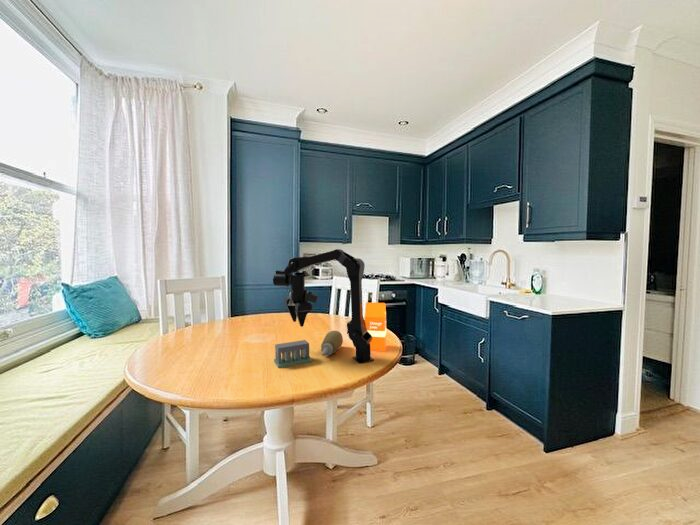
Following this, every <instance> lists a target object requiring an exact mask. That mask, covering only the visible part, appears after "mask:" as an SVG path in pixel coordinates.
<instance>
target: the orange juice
mask: <svg viewBox="0 0 700 525" xmlns="http://www.w3.org/2000/svg"><path fill="white" fill-rule="evenodd" d="M386 308H387V307H386V303H385V302H365V308H364V309H365V310H364V316H363V318H364V320H365V323H366V328H367V331H368V332H369V333H370V334H371V336H372V337H373V338H372V340H371V342H370V351H377V352H378V351H379V352H385V351H386V347H387V310H386Z"/></svg>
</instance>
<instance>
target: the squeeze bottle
mask: <svg viewBox="0 0 700 525" xmlns="http://www.w3.org/2000/svg"><path fill="white" fill-rule="evenodd" d="M343 340H344V338H343V335H342V332H340V331H338V330H331V331H329V332H327V333H326V335H325V336H324V339H323V341H322V343H321V345H320V351H321V353H322V356H330V355H332V356H333V355H334V354H335V352H337V351H338V350H339V348H340V347H341V346H342V345H343V343H344V341H343Z"/></svg>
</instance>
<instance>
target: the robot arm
mask: <svg viewBox="0 0 700 525" xmlns="http://www.w3.org/2000/svg"><path fill="white" fill-rule="evenodd" d="M332 261H337V262H338V263H339V264H340V265H341V266H343V267H345V270H346V274H347V277H348V280H349V282H350V283H349V285H350V306H351V307H350V311H351V319H350V321H348V322H347V323H346V329H347V332H346V334H347V335H348V338H349V340H350V341H351V342H352V345H353V347H354V348H355V356H352V357H351V359H353V360H354V361H356V362H357V363H358V364H363V363H369V362H373V361H375V359H374V358H372V357H371V350H370V342H371V340H372V338H373V337H372V336H371V334H370V333H369V332H368V331H367V328H366V323H365V320H364V315H363V314H364V313H363V312H364V310H363V288H362V287H363V286H362V281H363V277H364V274H365V262H364V261H363V260H362V259H361V258H358V257H357V258H356V257H355V256H352V255H350V254H349V253H347V252H346V251H344V250H343V249H339V248H337V249H335V248H334V249H333V250H330V251H326V252H322V253H317V254H314V255H309V256H298V257H297V256H295V257H291V258H290V259H289V261H288V264H287V266H286V267H285V269H284V270H275V273H274V275H273V278H272V283H273V285H274V286H275V287H285V288H286V287H290V289H288V290H289V292H290V297H286V298H285V299H284V305H285V306H286V309H287V311H288V313H289V315H290V317H291V319H292V322H293V323H294V322H295V323H296V322H297V320H298V323H299V326H300V327H302V328H303V327H304V325H305V322H306V318H307V315H308V314H309V313H311V311H313V310H314V309H313V307H314V305H313V304H317V301H318V299H319V296H317V295H315V294H313V292H312V291H309V290H308V289H306V287H305V285H306V284H305V283H306V282H305V279H306V277H309V276H310V274H309V273H308V272H307V270H306V269H309V268H310V267H312V266H315V265H319V264H323V263H327V262H332ZM299 271H301V272H299ZM311 302H312V303H311Z"/></svg>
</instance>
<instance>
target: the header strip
mask: <svg viewBox="0 0 700 525" xmlns="http://www.w3.org/2000/svg"><path fill="white" fill-rule="evenodd" d="M273 362H274V364H275V365H276V366H277V368H278V369H279V368H285V367H290V366H296V365H301V364H306V363H312V362H313V359H312V358H311V357H310V356H309V359H306V358H305V357H304V356H303V350H300V360H299V361H298V360H297V359H296V358H295V357H294V351H291V362H288V361H287V360H286V359H285V353H281V364H278V363H277V361H276V360H275V358H274V359H273Z"/></svg>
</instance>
